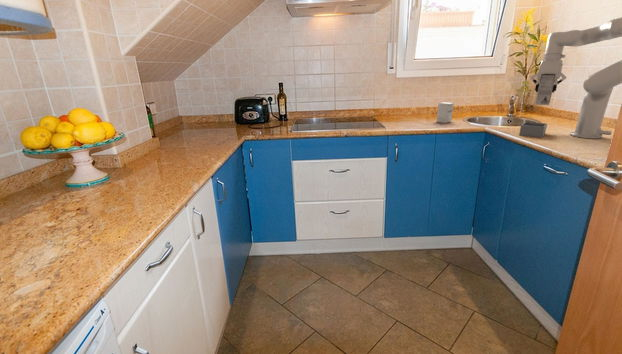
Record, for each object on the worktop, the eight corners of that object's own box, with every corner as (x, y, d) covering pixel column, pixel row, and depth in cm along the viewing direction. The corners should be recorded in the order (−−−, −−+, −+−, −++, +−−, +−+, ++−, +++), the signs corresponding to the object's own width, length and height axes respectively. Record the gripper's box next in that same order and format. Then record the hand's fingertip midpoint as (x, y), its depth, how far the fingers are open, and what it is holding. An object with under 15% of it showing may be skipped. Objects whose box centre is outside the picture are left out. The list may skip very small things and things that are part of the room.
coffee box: (535, 103, 178) (542, 73, 173) (549, 103, 175) (556, 73, 170) (534, 104, 172) (541, 74, 166) (549, 105, 168) (556, 74, 163)
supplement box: (446, 123, 206) (448, 103, 202) (435, 121, 211) (438, 102, 207) (451, 121, 211) (454, 102, 206) (441, 120, 216) (443, 102, 212)
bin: (545, 133, 170) (547, 123, 168) (542, 137, 161) (544, 127, 159) (523, 131, 176) (525, 121, 174) (519, 135, 167) (521, 125, 165)
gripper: (573, 57, 162) (565, 92, 168) (533, 58, 173) (527, 91, 179) (572, 56, 157) (564, 93, 163) (531, 58, 168) (525, 92, 174)
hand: (544, 91), depth 171 cm, fingers closed on coffee box, 6 cm apart
